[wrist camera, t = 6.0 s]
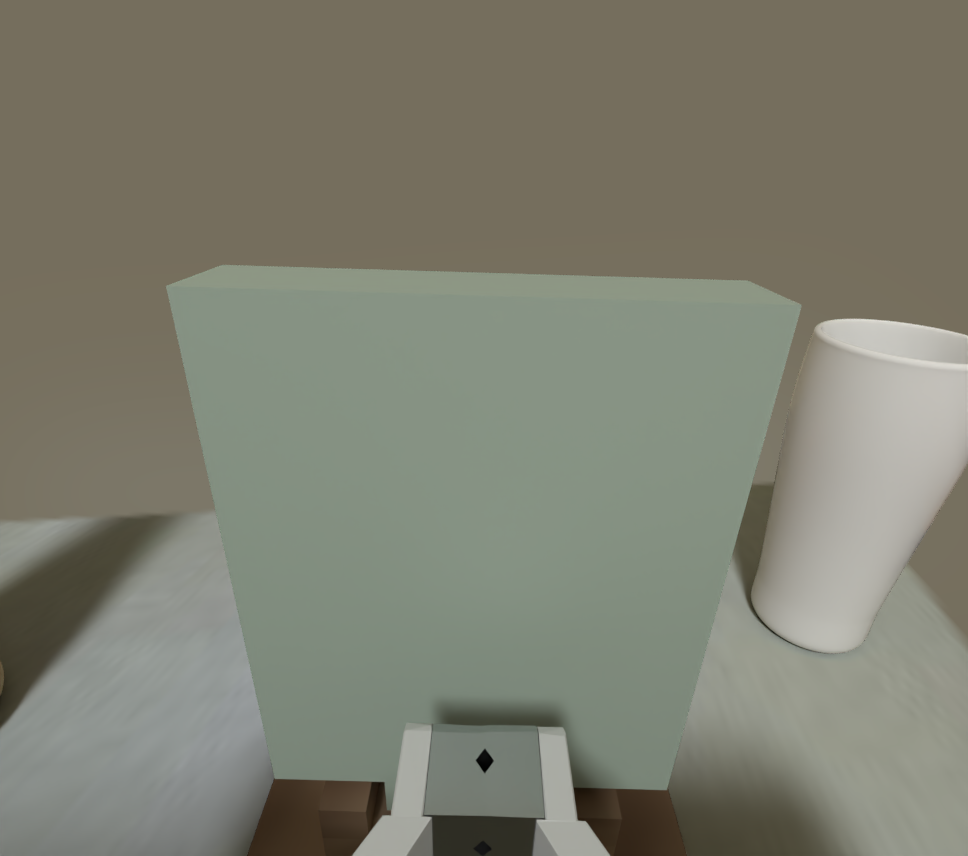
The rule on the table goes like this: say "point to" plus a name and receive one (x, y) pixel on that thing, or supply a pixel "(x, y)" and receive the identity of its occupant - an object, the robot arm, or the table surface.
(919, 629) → the table surface
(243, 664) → the table surface
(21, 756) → the table surface
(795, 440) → the drinking glass
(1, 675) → the stacking toy
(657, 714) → the pale green panel
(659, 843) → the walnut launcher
